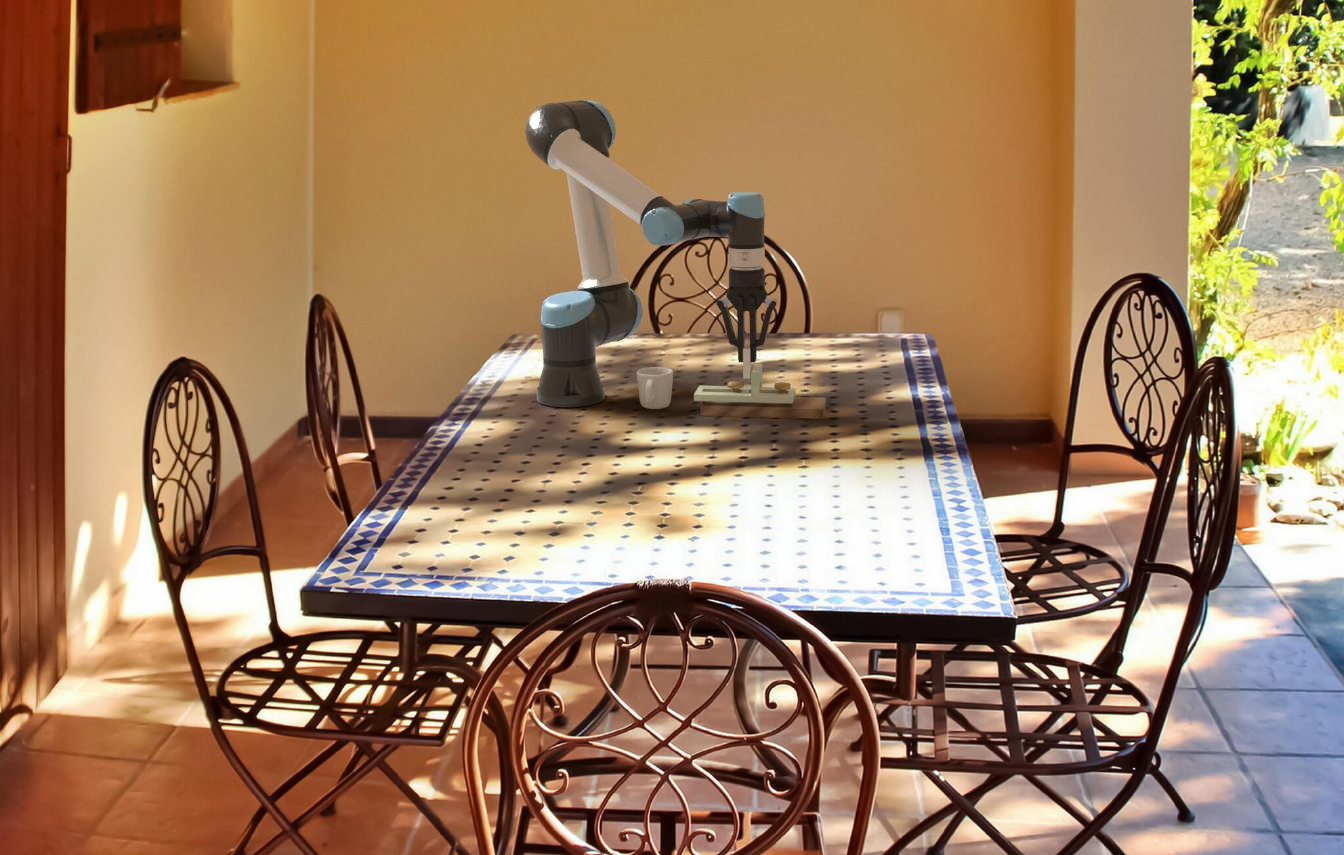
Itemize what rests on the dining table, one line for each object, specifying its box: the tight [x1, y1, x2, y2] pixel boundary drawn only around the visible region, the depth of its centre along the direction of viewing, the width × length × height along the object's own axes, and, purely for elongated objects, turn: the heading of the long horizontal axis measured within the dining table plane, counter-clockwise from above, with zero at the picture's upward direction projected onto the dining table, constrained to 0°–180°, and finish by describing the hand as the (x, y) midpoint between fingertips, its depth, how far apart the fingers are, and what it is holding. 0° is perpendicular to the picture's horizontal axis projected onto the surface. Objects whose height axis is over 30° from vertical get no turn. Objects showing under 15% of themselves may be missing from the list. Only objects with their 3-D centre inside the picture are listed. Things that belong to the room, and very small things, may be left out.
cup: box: [636, 366, 674, 410], centre depth 311 cm, size 11×8×8 cm
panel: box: [693, 362, 797, 403], centre depth 307 cm, size 21×8×7 cm, turn 81°
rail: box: [699, 380, 827, 420], centre depth 308 cm, size 26×10×6 cm, turn 81°
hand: (747, 377), depth 307 cm, fingers closed
